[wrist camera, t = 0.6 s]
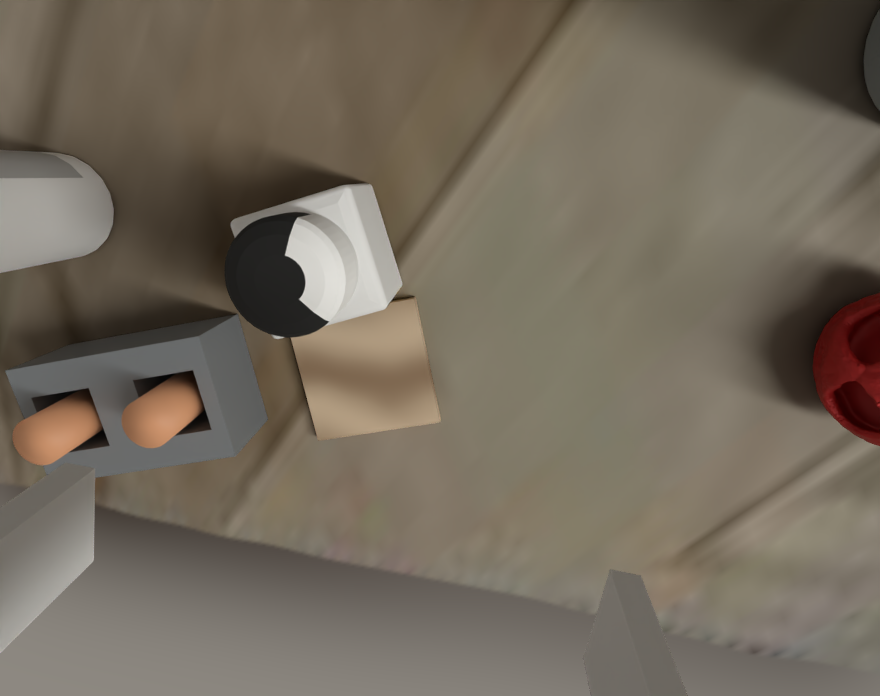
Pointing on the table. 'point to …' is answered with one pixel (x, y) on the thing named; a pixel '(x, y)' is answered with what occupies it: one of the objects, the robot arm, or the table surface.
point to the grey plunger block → (137, 372)
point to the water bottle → (873, 61)
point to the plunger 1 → (57, 428)
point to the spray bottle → (50, 209)
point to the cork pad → (368, 373)
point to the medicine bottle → (312, 262)
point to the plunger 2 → (163, 411)
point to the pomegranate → (851, 367)
